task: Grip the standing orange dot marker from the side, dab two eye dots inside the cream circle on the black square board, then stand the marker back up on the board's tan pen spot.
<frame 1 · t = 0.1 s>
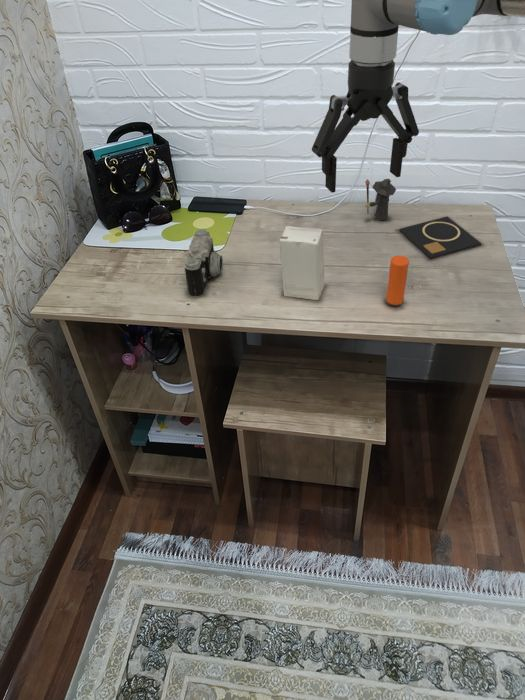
hand: (363, 181, 107), 26 cm above the table, tool pointing down, fingers open, 13 cm apart
camera: (207, 278, 133), on the table
black square board: (438, 237, 140), on the table
wizard figurine: (378, 220, 148), on the table
cosmetic box: (303, 292, 127), on the table
dot marker: (394, 303, 122), on the table
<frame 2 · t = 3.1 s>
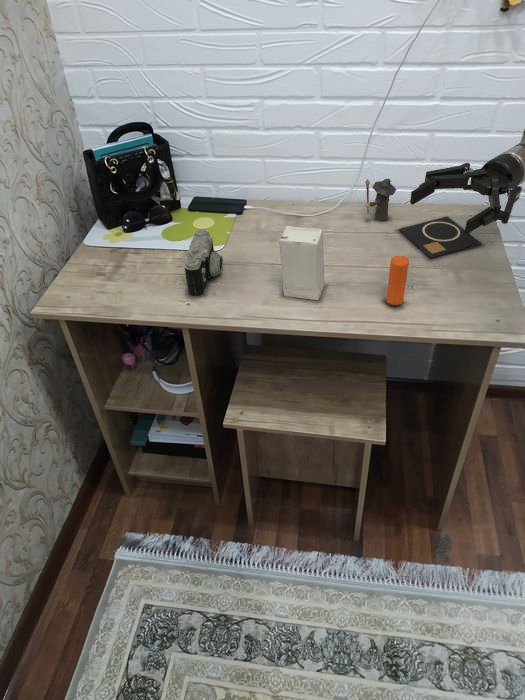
hand: (438, 212, 111), 20 cm above the table, tool horizontal, fingers open, 13 cm apart
nothing on the table moved.
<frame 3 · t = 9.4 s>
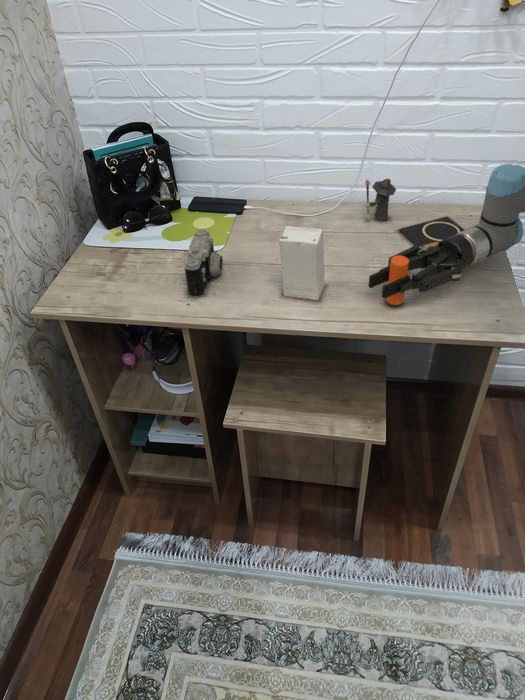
hand: (376, 287, 116), 7 cm above the table, tool horizontal, fingers closed on dot marker, 4 cm apart
dot marker: (394, 303, 122), on the table, touching gripper
everything else where it was.
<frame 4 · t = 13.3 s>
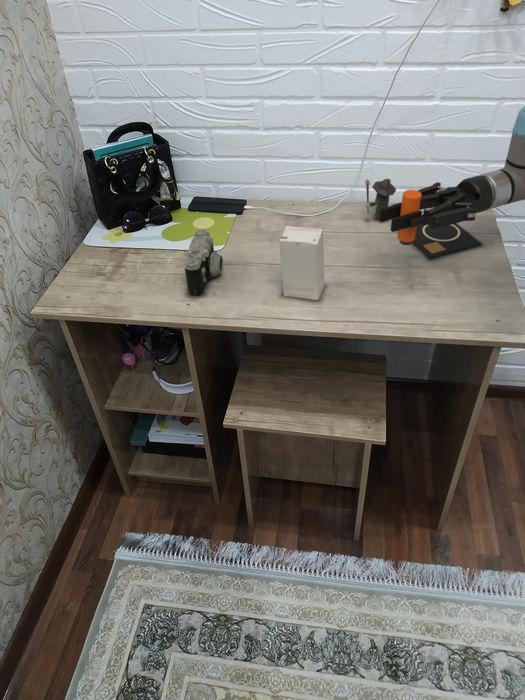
hand: (386, 220, 114), 17 cm above the table, tool horizontal, fingers closed on dot marker, 4 cm apart
dot marker: (405, 241, 120), point 11 cm above the table, touching gripper
everything else where it was.
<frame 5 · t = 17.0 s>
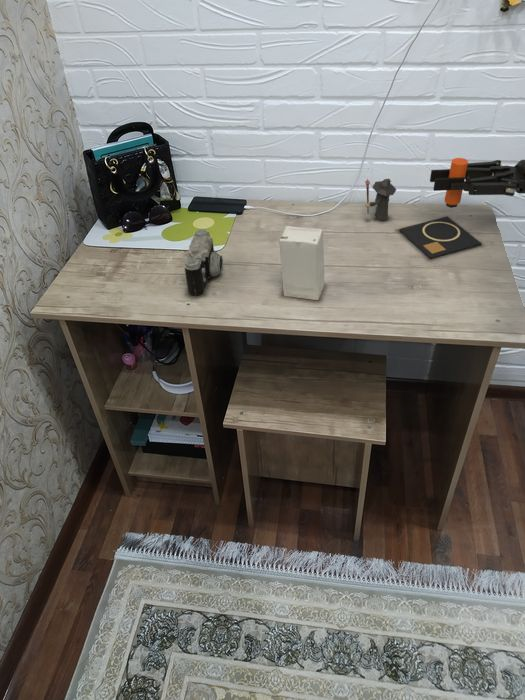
hand: (432, 180, 132), 14 cm above the table, tool horizontal, fingers closed on dot marker, 4 cm apart
dot marker: (451, 205, 137), point 7 cm above the table, touching gripper
everything else where it was.
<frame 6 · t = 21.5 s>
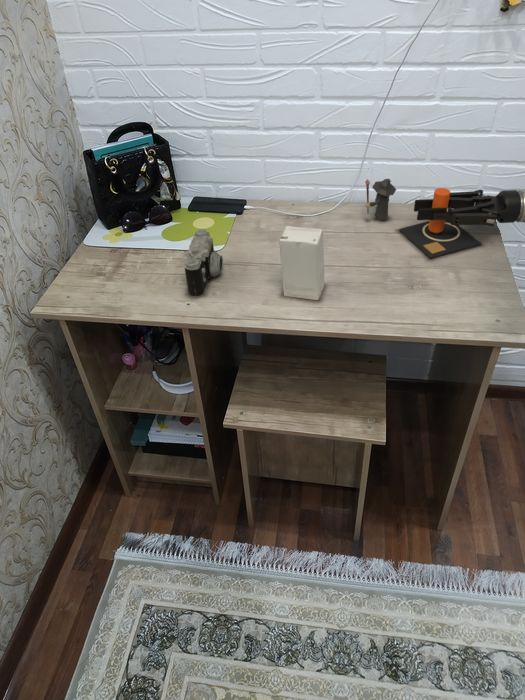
hand: (416, 209, 136), 7 cm above the table, tool horizontal, fingers closed on dot marker, 4 cm apart
dot marker: (435, 232, 140), point 1 cm above the table, touching gripper, black square board
everything else where it was.
when the fingers open (7 cm above the table, at t = 25.1 s): dot marker stays where it is, resting on black square board.
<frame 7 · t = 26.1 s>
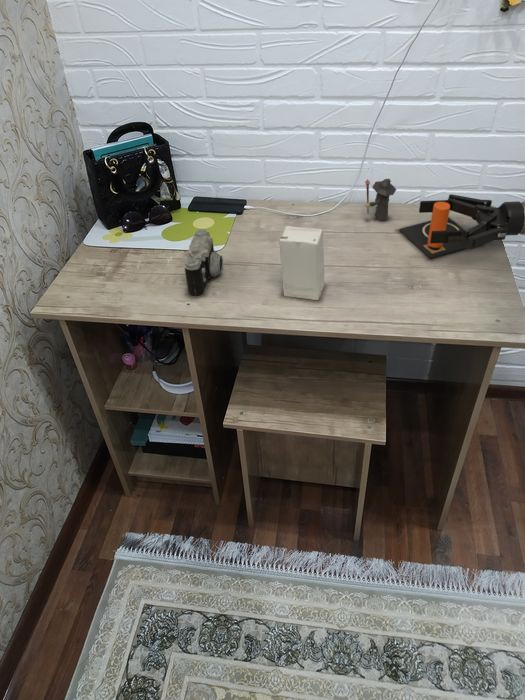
hand: (425, 221, 131), 8 cm above the table, tool horizontal, fingers open, 13 cm apart
dot marker: (434, 247, 136), point 1 cm above the table, touching black square board
everything else where it was.
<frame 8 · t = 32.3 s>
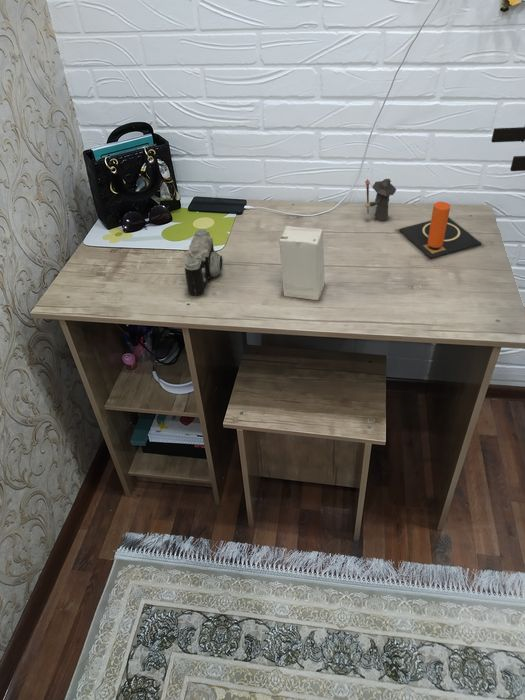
hand: (502, 149, 115), 26 cm above the table, tool horizontal, fingers open, 13 cm apart
nothing on the table moved.
at the end: dot marker 0.1 cm from the target spot on the black square board, point 0.7 cm above the black square board's base; dot marker tilted 0°; the gripper is holding nothing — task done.
